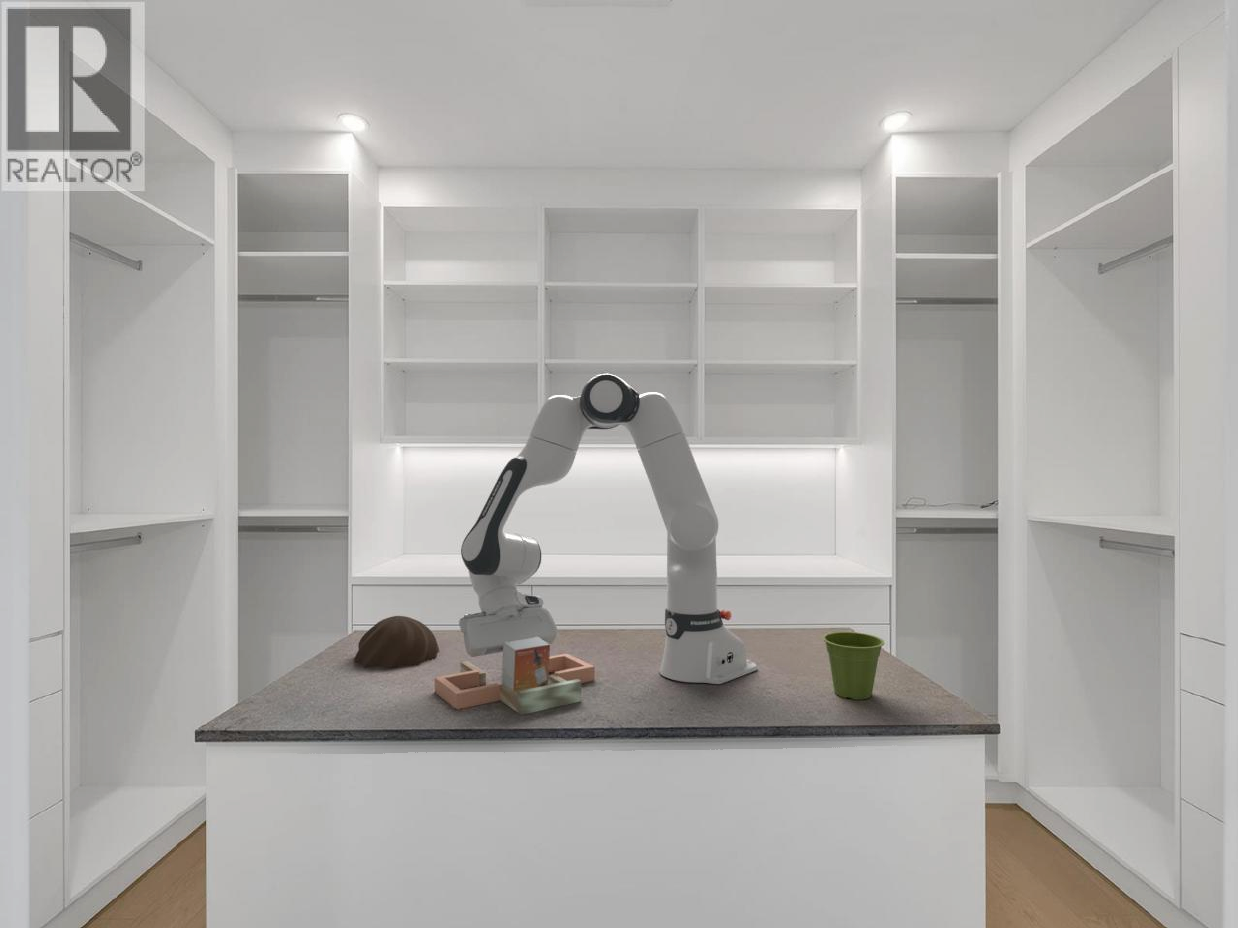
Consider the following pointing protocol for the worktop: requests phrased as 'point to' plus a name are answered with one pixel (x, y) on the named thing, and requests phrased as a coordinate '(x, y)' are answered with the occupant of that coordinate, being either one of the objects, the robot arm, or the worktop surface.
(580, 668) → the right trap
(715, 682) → the robot arm
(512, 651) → the small box
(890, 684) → the worktop surface
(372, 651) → the decorative dome
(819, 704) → the worktop surface
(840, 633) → the plant pot
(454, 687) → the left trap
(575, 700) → the trap lane
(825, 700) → the worktop surface
